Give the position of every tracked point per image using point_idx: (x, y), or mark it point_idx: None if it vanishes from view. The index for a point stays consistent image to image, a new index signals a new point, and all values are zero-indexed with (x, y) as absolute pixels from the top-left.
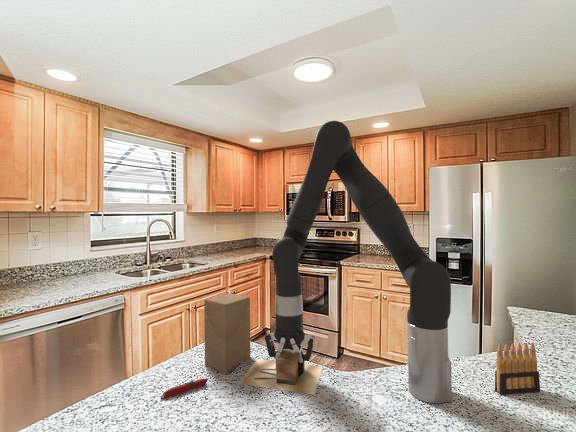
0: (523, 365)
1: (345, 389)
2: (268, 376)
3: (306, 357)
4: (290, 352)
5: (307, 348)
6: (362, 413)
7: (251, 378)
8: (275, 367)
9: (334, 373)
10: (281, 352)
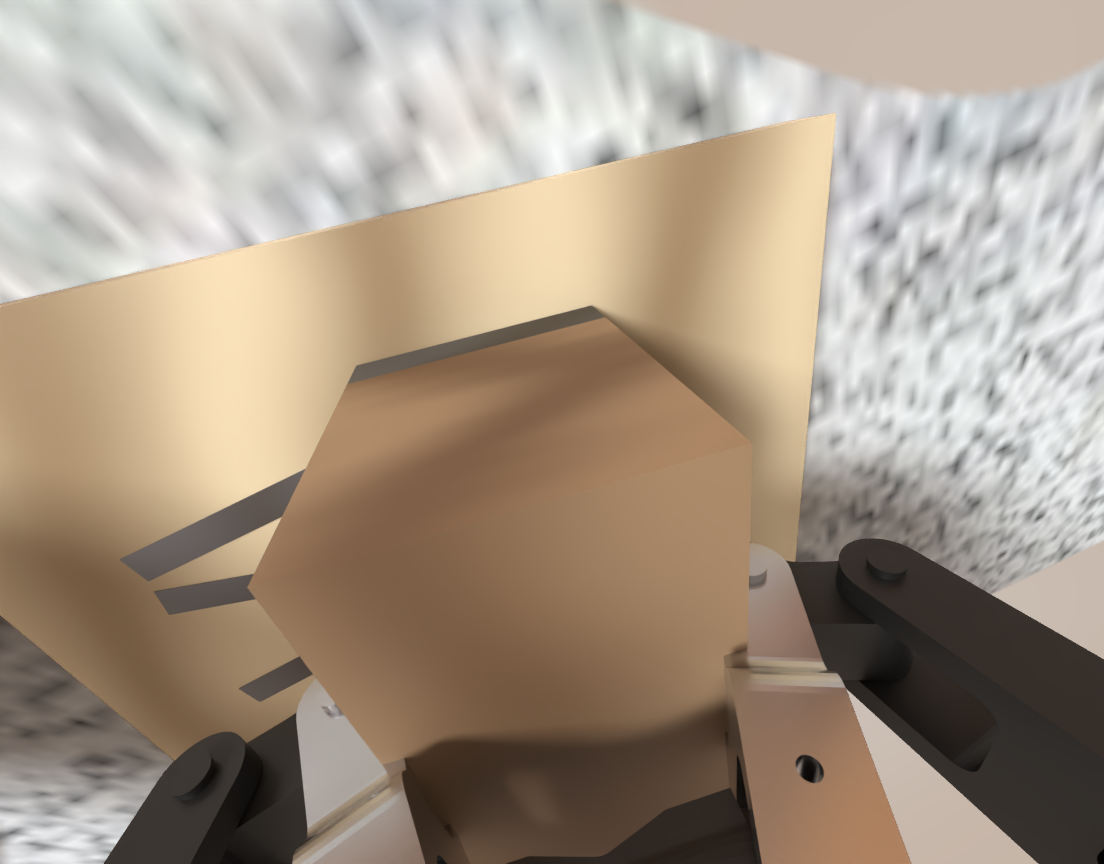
0: None
1: (975, 352)
2: None
3: (866, 682)
4: (588, 740)
5: (1039, 856)
6: (1017, 520)
7: (226, 703)
8: (253, 451)
9: (915, 95)
10: (462, 852)
